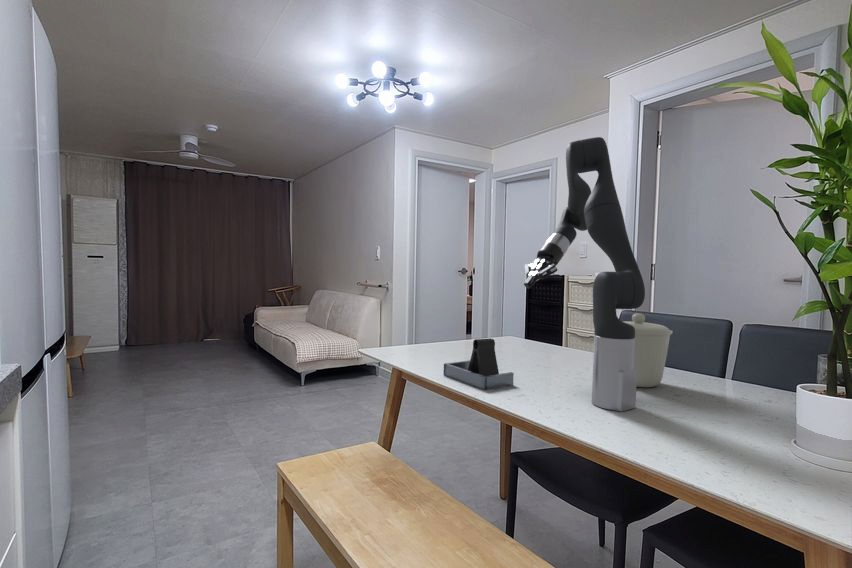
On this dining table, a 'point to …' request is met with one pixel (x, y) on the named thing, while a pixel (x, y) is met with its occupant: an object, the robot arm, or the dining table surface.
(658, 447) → the dining table surface
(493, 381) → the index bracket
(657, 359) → the canister
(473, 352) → the black folding stand
